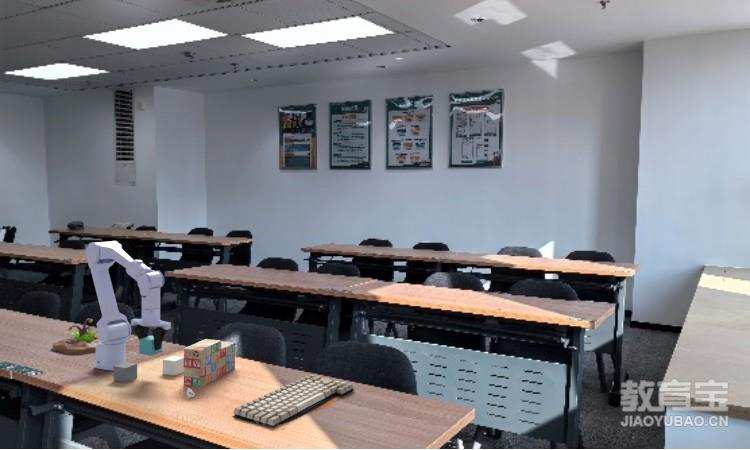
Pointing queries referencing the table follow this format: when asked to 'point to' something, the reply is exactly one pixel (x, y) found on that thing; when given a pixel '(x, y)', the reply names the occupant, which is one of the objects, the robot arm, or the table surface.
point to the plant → (78, 341)
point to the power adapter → (190, 393)
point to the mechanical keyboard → (293, 401)
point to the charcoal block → (125, 372)
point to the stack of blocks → (207, 361)
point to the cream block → (173, 365)
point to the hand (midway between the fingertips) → (150, 348)
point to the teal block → (148, 346)
